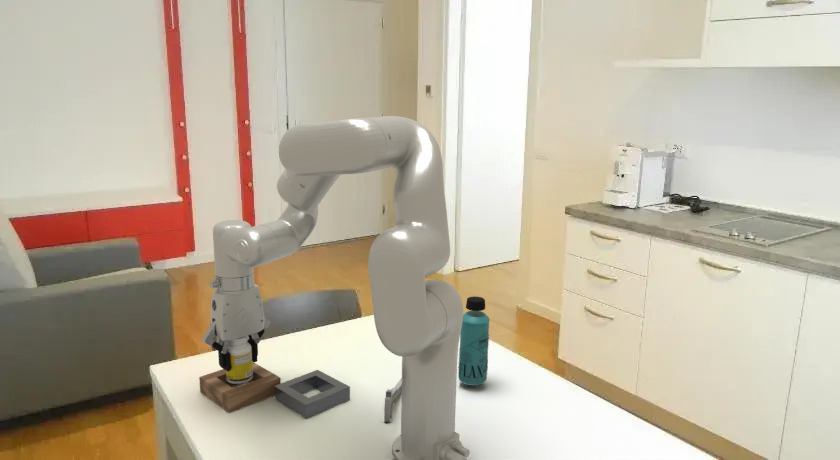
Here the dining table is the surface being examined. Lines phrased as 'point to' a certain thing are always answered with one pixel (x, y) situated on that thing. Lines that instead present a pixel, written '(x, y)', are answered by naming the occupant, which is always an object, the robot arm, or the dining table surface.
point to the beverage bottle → (474, 343)
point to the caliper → (391, 400)
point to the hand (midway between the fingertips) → (239, 363)
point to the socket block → (308, 407)
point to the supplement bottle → (240, 361)
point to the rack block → (239, 388)
